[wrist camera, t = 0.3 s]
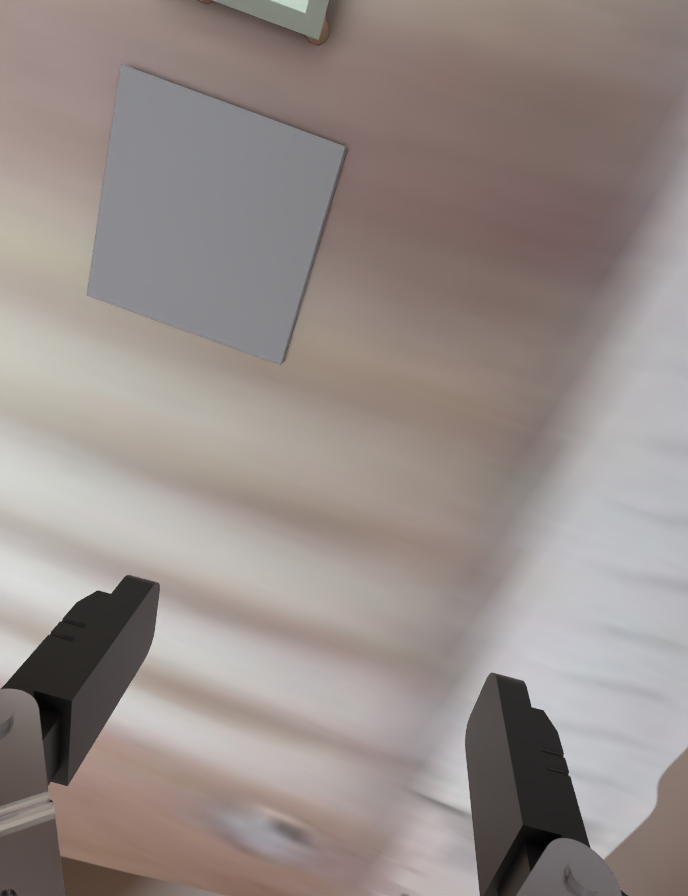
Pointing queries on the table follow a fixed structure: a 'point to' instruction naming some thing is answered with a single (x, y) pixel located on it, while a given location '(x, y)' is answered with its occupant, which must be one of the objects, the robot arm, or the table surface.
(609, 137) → the table surface
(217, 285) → the mat
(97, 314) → the table surface
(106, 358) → the table surface
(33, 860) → the robot arm
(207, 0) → the mint green toy brick
